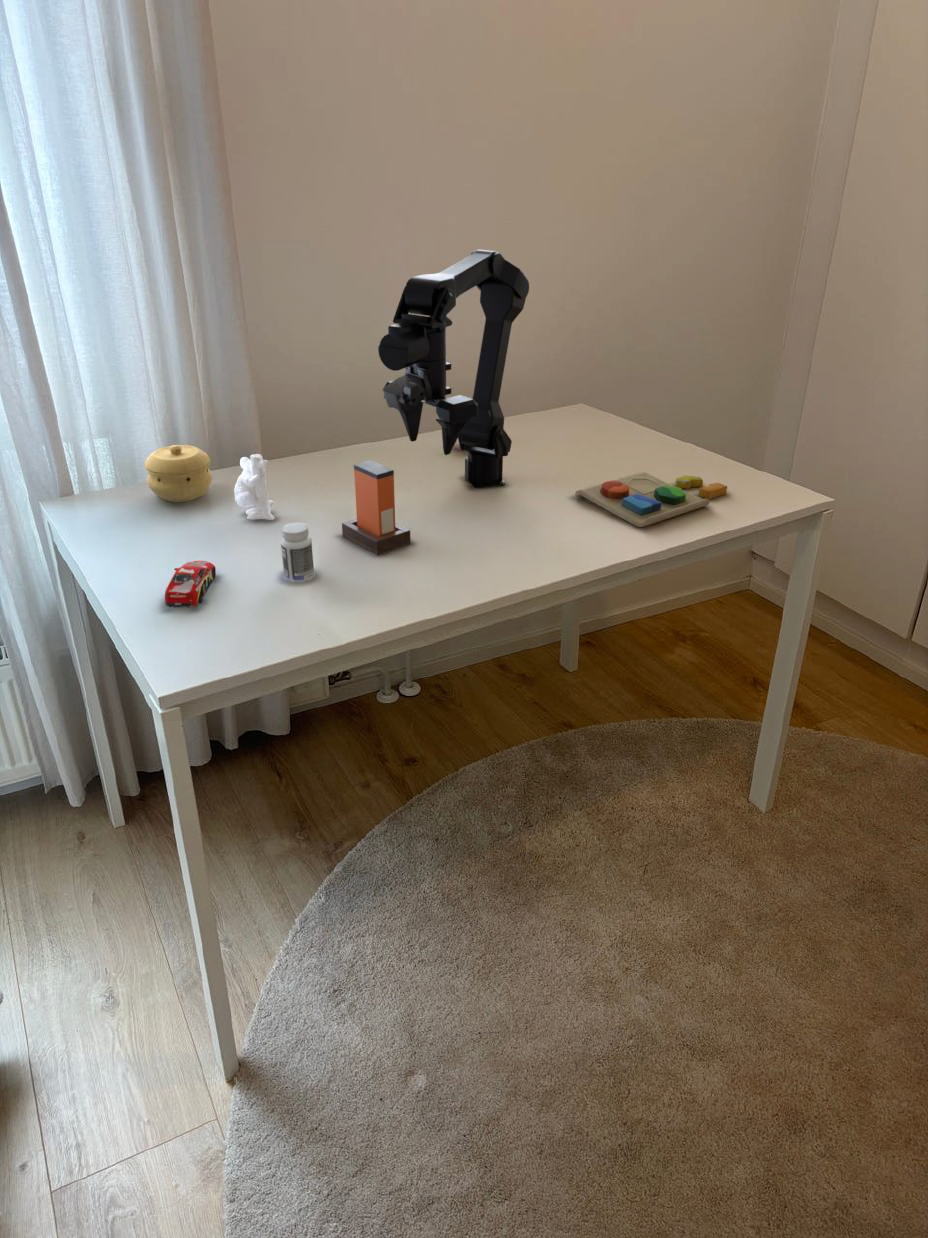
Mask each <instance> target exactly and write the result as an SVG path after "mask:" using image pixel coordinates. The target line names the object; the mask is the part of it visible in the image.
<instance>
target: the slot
mask: <svg viewBox="0 0 928 1238" xmlns="http://www.w3.org/2000/svg"><path fill="white" fill-rule="evenodd" d="M395 528H396V532H393V533H390V534H387V535H384V536H381V537H379V538H378V537H377V536H375V535H373V534H371V533H369V532H367V531H365V530H363V529H361V528H359V527H357V517H356V518H354V519H350V520H347V521H344V522H342V523H341V532H342V533H341V534H342V538H345V539H347V540H348V541H350V542H352V543H354V544H356V545H358V546H359V547H361V548H364V549H365V550H367V551H369V552H371V553H372V554H375V555H376V556H379V555H382V554H385V553H388V552H391V551H393V550H397V549H399V548H402V547H405V546H408V545H411V542H412V541H411V529H409V528H407V527H405V526H403V525H401V524H399V523H396V522H395Z"/></svg>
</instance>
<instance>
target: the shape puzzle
mask: <svg viewBox="0 0 928 1238" xmlns="http://www.w3.org/2000/svg"><path fill="white" fill-rule="evenodd" d="M674 483H675V484H674V485H673V484H670V483H668V482H666V481H664V480H662V479H660V478H658V477H656V476H654V475H653V474H651V473H648V472H645V471H640V472H637V473H633V474H630V475H626V476H623V477H618V478H616V479H612V480H607V481H604V482H602V483H599V484H596V485H592V486H588V487H585V488H582V489H578V490H576V491H575V492H574V494H575V497H576V498H581V497H583V498H585V499H587V500H589V501H590V502H592V503H593V504H595V505H597V506H599V507H601V508H603V509H605V510H606V511H608V512H610V513H612V514H614V515H615V516H618V517H619V518H621V519H623V520H625V521H626V522H629V523H630V524H631V525H634V526H636V527H639V528H644V527H647V526H650V525H652V524H656V523H659V522H662V521H664V520H668V519H672V518H673V517H676V516H677V517H678V516H679V515H683V514H686V513H689V512H692V511H695V510H697V509H701V508H703V507H707V506H709V505H710V503H711V500H712V499H714V498H718V497H721V496H724V495H726V494H727V492H728V491H727V490H728V485H725V484H722V483H720V482H713V483H708V485H707V486H703V483H704V480H703V478H701V477H700V476H694V475H687V474H686V475H682V476H679V477H677V478H675V482H674ZM690 488H698V493H697V495H698V496H699V497H701V498H704V499H700V498H699V497H696V496H694V495H693V494H691V493H688V492H686V491H684V489H685V490H688V489H690Z"/></svg>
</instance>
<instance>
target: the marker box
mask: <svg viewBox="0 0 928 1238" xmlns="http://www.w3.org/2000/svg"><path fill="white" fill-rule="evenodd" d="M353 473H354V491H355V492H354V495H355V512H356V513H355V514H356V518H357V527H359V528H361V529H363V530H365V531H367V532H369V533H371V534H373V535H375V536H377V537H378V538H379V537H381V536H384V535H387V534H390V533H393V532H396V528H395V523H396V501H395V498H396V497H395V470H394V469H392V468H390V467H387V466H386V465H383V464H380V463H378V462H376V461H374V460H371V459H369V460H365V461H362V462H358V463H354V464H353Z"/></svg>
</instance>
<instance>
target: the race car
mask: <svg viewBox="0 0 928 1238" xmlns="http://www.w3.org/2000/svg"><path fill="white" fill-rule="evenodd" d="M216 569H217V568H216V566H215V565H214V564H213V563H212V562H209V561H207V560H193V561H188V562H186V563H184V564H182V565H181V566H180V567H179V566H178V567H175V568H174V569H173V570H174V571H175V572H174V574H173V576H172V577H171V579H170V581H169V582H168V585H167V587H166V589H165V592H164V603H165V606H166V607H168V608H192V607H196V606H198V605H199V604H202V603H203V600H204V597H205V595H206V593H207V592H208V590H209V588H210V586H211V584H212V583H213V581H214V580H215V579H216V576H217V575H216V573H217V572H216Z"/></svg>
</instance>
